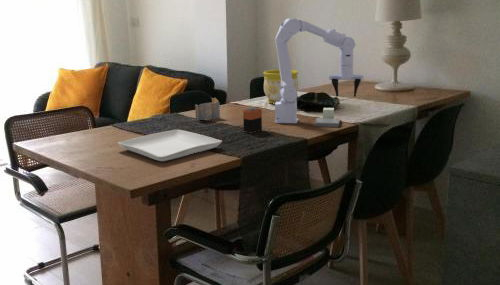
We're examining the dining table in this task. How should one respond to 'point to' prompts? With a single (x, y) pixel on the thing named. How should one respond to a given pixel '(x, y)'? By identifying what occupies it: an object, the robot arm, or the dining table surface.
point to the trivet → (327, 122)
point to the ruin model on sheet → (208, 110)
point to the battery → (252, 119)
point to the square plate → (170, 144)
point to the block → (328, 113)
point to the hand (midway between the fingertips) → (346, 96)
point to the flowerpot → (276, 84)
